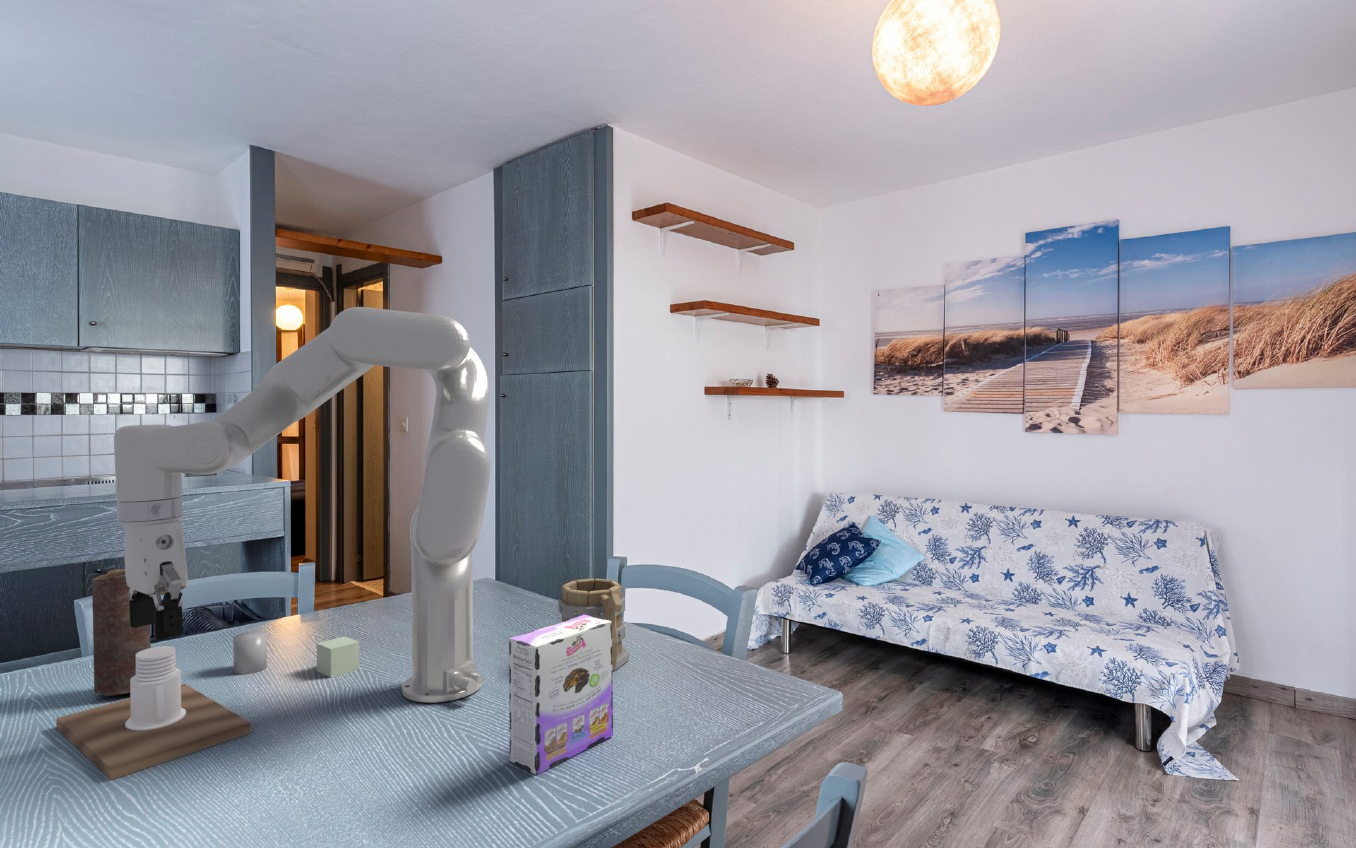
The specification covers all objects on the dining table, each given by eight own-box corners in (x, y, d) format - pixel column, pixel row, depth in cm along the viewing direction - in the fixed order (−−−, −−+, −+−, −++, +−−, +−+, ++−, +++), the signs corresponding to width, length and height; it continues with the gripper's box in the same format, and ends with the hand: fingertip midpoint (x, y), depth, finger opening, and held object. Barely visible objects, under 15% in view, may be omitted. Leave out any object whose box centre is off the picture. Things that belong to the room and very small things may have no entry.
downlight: (121, 718, 102) (120, 650, 101) (180, 704, 107) (179, 638, 106) (129, 739, 96) (129, 666, 95) (191, 723, 101) (191, 654, 100)
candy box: (585, 725, 103) (585, 612, 103) (614, 737, 99) (614, 620, 99) (507, 761, 92) (506, 636, 92) (536, 776, 88) (536, 645, 88)
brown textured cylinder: (118, 704, 110) (116, 576, 110) (80, 700, 112) (78, 574, 111) (163, 686, 118) (161, 566, 117) (127, 682, 119) (125, 564, 119)
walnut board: (250, 733, 100) (250, 722, 100) (111, 780, 88) (110, 768, 88) (185, 693, 115) (184, 683, 115) (56, 728, 102) (56, 718, 102)
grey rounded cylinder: (271, 668, 126) (271, 634, 126) (241, 676, 122) (240, 642, 122) (259, 662, 129) (258, 629, 129) (228, 670, 125) (228, 636, 125)
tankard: (549, 655, 133) (549, 575, 132) (614, 646, 138) (613, 569, 137) (577, 694, 114) (577, 601, 114) (651, 682, 119) (650, 593, 119)
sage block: (359, 669, 125) (359, 641, 125) (331, 678, 121) (330, 649, 121) (344, 663, 128) (344, 636, 128) (316, 671, 124) (316, 643, 124)
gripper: (205, 512, 99) (210, 634, 99) (159, 504, 109) (164, 614, 109) (140, 520, 92) (146, 650, 93) (98, 510, 103) (104, 628, 103)
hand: (156, 631), depth 101 cm, fingers open, 9 cm apart
